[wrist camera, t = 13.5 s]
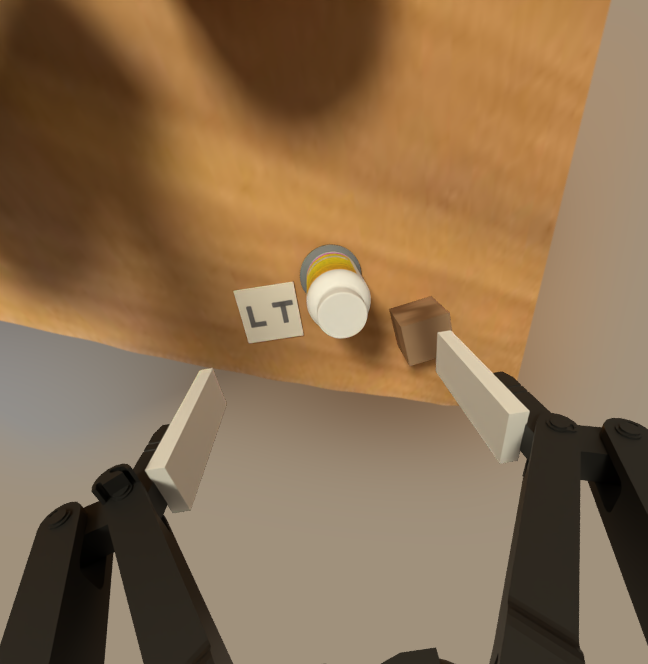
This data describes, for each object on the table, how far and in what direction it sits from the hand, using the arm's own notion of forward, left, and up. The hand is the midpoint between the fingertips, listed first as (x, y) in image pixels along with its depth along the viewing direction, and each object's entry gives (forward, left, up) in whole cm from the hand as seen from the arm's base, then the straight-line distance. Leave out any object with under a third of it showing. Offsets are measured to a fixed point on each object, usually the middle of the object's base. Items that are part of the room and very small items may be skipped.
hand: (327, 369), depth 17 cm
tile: (-7, -5, -23) cm, 25 cm away
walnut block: (+13, -10, -24) cm, 28 cm away
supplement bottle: (+2, -1, -23) cm, 23 cm away
